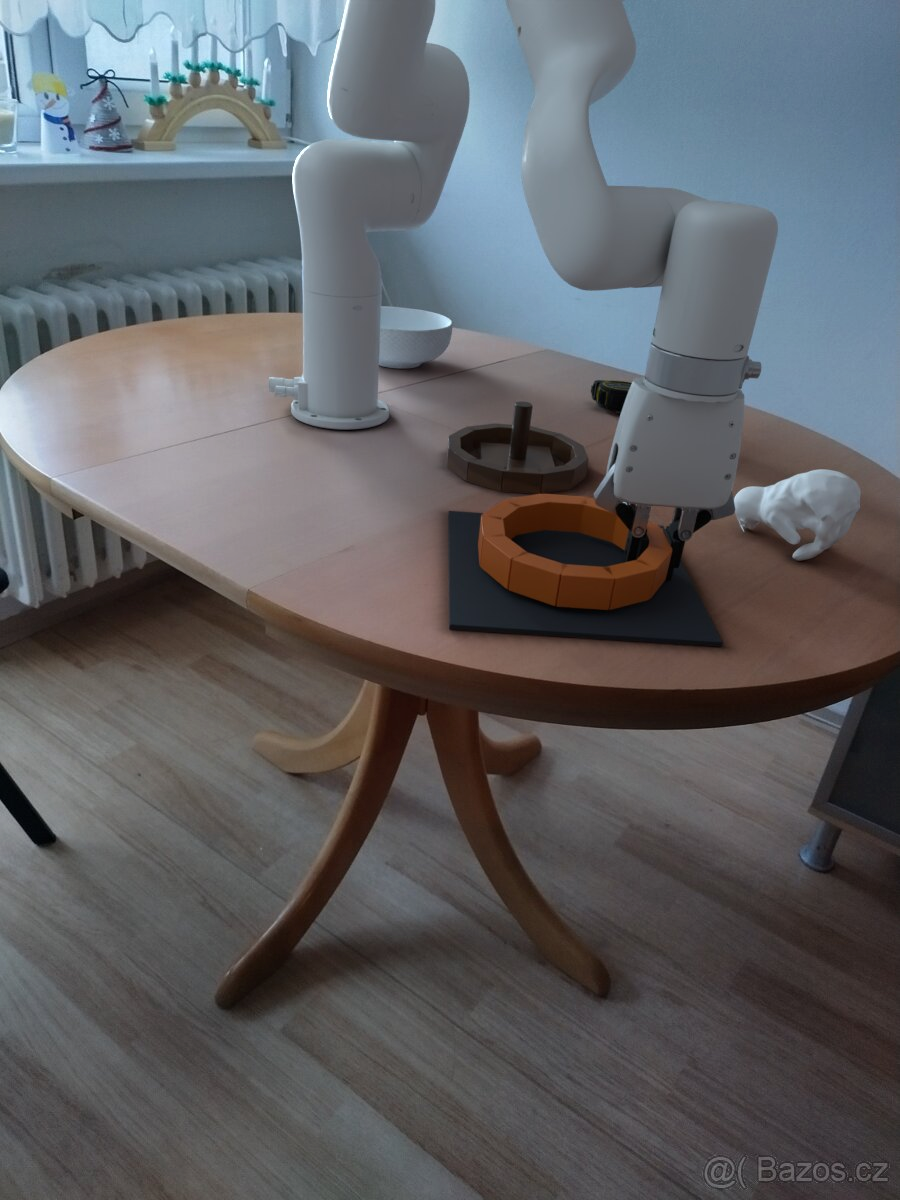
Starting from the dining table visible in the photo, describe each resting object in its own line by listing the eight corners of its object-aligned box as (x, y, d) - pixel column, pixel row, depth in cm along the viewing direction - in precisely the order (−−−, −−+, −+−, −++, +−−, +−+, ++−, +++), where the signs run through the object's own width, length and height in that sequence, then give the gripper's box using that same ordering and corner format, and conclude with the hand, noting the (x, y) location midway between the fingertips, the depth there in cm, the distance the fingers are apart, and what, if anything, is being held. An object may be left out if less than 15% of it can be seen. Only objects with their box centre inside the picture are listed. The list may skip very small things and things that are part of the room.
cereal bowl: (448, 381, 129) (452, 333, 126) (337, 372, 129) (338, 324, 125) (450, 353, 144) (453, 309, 141) (350, 345, 144) (351, 301, 140)
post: (481, 477, 97) (488, 412, 93) (479, 451, 104) (485, 390, 100) (555, 482, 97) (565, 418, 94) (548, 456, 105) (556, 395, 101)
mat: (449, 629, 68) (449, 624, 68) (448, 514, 87) (448, 510, 87) (721, 647, 69) (723, 642, 69) (662, 529, 88) (663, 525, 88)
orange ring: (481, 602, 70) (485, 569, 69) (475, 516, 85) (478, 488, 83) (682, 615, 71) (690, 583, 70) (642, 528, 85) (648, 500, 84)
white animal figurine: (847, 486, 78) (727, 458, 86) (827, 572, 82) (714, 537, 90) (874, 472, 82) (757, 446, 90) (855, 554, 86) (744, 522, 94)
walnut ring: (447, 488, 94) (449, 467, 92) (446, 438, 107) (448, 419, 106) (593, 498, 94) (596, 477, 93) (573, 447, 108) (576, 429, 107)
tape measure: (634, 404, 127) (638, 378, 125) (646, 419, 121) (652, 392, 119) (588, 401, 126) (592, 376, 124) (599, 416, 120) (603, 390, 118)
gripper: (775, 366, 73) (723, 559, 82) (588, 351, 72) (557, 547, 81) (807, 392, 66) (746, 598, 76) (602, 376, 66) (566, 586, 75)
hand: (648, 570), depth 78 cm, fingers closed on orange ring, 2 cm apart
